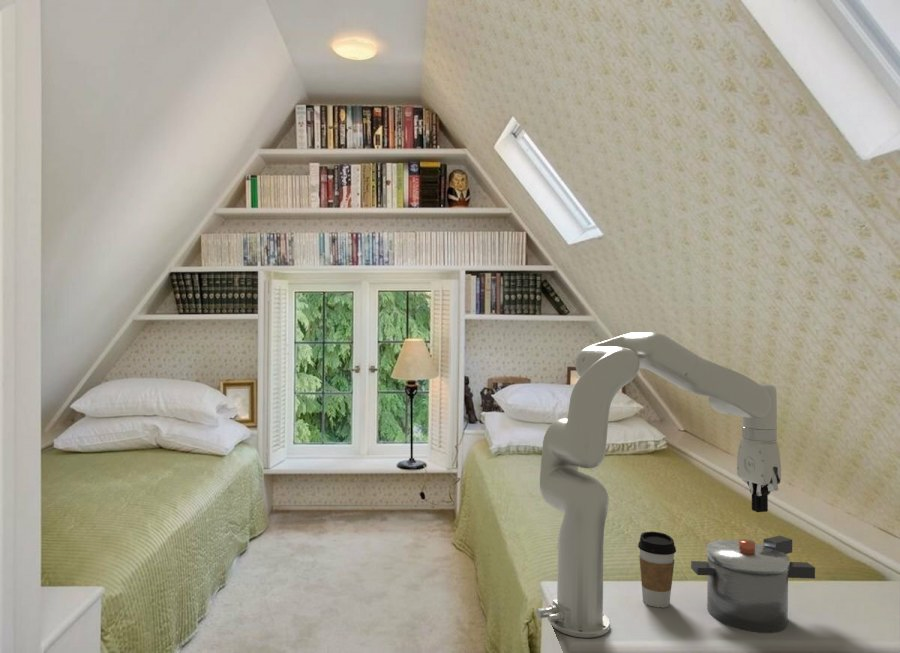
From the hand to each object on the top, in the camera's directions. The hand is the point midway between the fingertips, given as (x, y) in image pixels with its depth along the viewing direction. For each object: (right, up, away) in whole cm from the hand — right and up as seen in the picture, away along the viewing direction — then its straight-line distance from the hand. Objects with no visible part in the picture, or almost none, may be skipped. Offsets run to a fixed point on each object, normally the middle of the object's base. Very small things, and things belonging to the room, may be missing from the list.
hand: (759, 510), depth 145 cm
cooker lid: (-6, -7, -10) cm, 14 cm away
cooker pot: (-8, -20, -12) cm, 24 cm away
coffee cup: (-27, -20, -6) cm, 34 cm away
